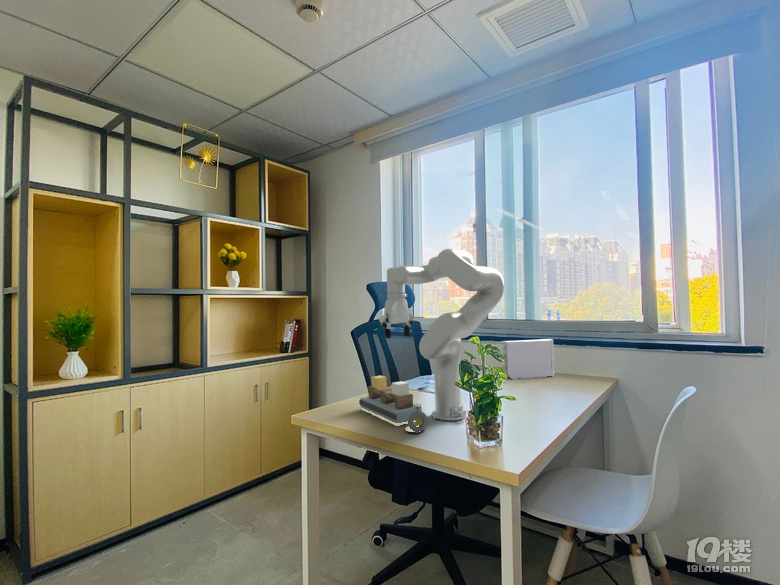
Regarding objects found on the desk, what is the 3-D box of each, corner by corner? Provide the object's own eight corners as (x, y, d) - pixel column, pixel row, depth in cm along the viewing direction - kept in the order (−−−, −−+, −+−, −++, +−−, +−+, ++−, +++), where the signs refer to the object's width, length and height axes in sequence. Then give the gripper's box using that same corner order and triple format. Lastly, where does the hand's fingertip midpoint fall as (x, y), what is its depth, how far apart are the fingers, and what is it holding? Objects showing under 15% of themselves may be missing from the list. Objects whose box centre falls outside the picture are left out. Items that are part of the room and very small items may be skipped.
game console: (556, 376, 208) (554, 339, 208) (508, 379, 204) (507, 342, 204) (550, 374, 213) (548, 338, 214) (503, 377, 210) (502, 341, 210)
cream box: (408, 394, 140) (408, 383, 140) (398, 396, 137) (398, 384, 138) (401, 391, 144) (401, 381, 144) (392, 393, 141) (391, 382, 141)
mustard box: (386, 387, 152) (386, 377, 153) (377, 388, 150) (376, 378, 150) (380, 385, 156) (380, 375, 156) (371, 386, 154) (371, 376, 154)
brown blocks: (413, 406, 139) (412, 394, 139) (399, 409, 136) (399, 397, 136) (381, 395, 158) (380, 384, 158) (368, 397, 154) (368, 386, 154)
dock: (422, 420, 139) (421, 406, 139) (395, 427, 132) (395, 412, 132) (383, 405, 160) (383, 393, 161) (359, 410, 154) (359, 398, 154)
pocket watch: (412, 426, 133) (411, 397, 133) (432, 431, 128) (431, 400, 128) (397, 433, 127) (396, 402, 127) (418, 438, 121) (417, 406, 122)
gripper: (407, 296, 170) (408, 335, 170) (374, 297, 161) (375, 338, 160) (417, 296, 164) (419, 336, 163) (383, 297, 154) (385, 339, 154)
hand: (397, 337), depth 162 cm, fingers open, 9 cm apart
